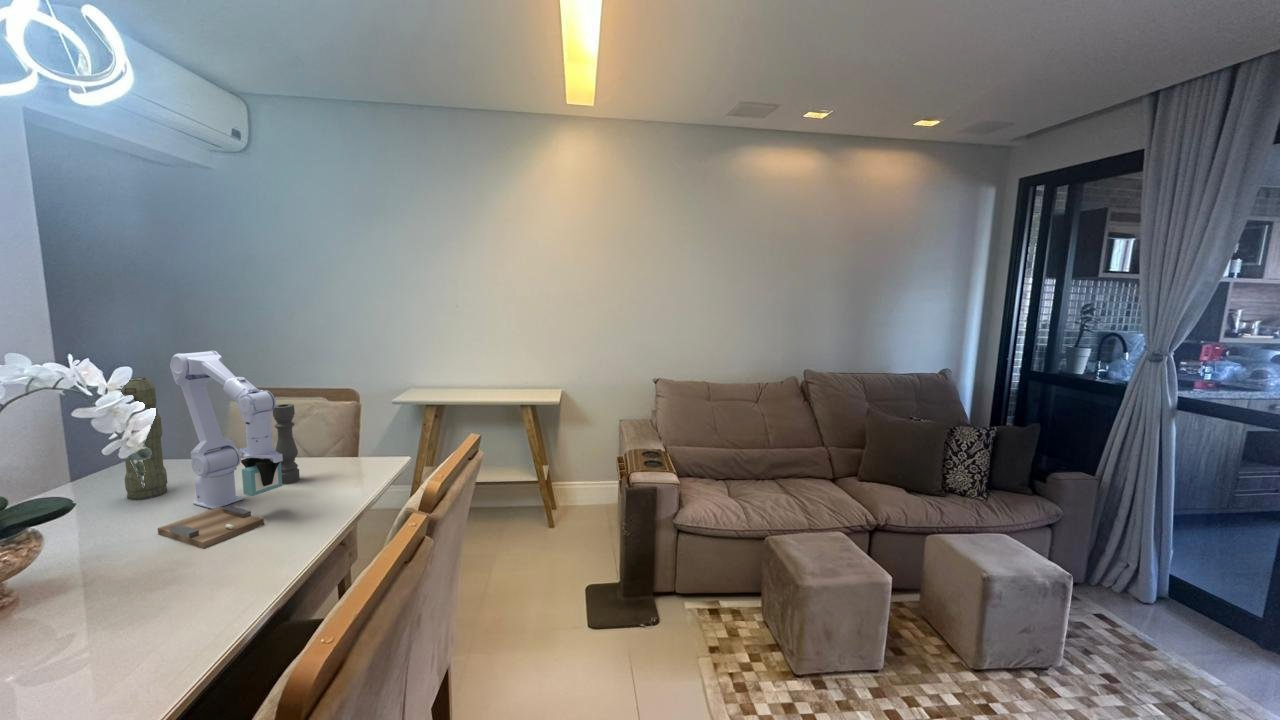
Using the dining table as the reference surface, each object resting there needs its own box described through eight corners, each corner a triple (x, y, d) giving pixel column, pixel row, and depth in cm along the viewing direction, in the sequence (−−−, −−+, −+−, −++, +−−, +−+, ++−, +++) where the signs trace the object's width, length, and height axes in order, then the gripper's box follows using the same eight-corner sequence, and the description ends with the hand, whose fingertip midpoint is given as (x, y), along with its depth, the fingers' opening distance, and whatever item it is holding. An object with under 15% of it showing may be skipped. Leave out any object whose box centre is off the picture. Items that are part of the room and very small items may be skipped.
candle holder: (303, 480, 165) (298, 405, 162) (281, 485, 160) (276, 408, 156) (294, 476, 168) (289, 402, 165) (273, 481, 163) (267, 406, 160)
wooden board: (158, 533, 127) (157, 523, 127) (220, 511, 140) (219, 502, 140) (203, 548, 121) (202, 537, 121) (263, 524, 134) (263, 514, 134)
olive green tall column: (120, 504, 143) (106, 383, 139) (133, 490, 153) (121, 376, 149) (162, 498, 148) (150, 381, 143) (172, 484, 158) (161, 374, 153)
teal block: (243, 494, 137) (241, 469, 136) (273, 484, 144) (272, 460, 143) (252, 496, 135) (250, 471, 135) (282, 485, 143) (280, 462, 142)
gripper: (225, 436, 136) (229, 484, 138) (262, 443, 131) (265, 493, 133) (253, 430, 143) (256, 475, 145) (289, 436, 138) (292, 483, 140)
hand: (262, 483), depth 139 cm, fingers closed on teal block, 3 cm apart
